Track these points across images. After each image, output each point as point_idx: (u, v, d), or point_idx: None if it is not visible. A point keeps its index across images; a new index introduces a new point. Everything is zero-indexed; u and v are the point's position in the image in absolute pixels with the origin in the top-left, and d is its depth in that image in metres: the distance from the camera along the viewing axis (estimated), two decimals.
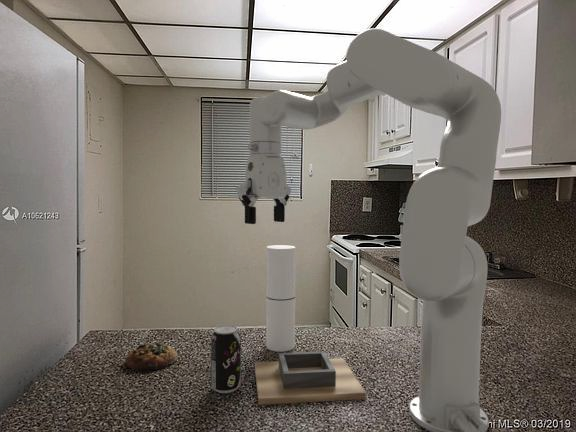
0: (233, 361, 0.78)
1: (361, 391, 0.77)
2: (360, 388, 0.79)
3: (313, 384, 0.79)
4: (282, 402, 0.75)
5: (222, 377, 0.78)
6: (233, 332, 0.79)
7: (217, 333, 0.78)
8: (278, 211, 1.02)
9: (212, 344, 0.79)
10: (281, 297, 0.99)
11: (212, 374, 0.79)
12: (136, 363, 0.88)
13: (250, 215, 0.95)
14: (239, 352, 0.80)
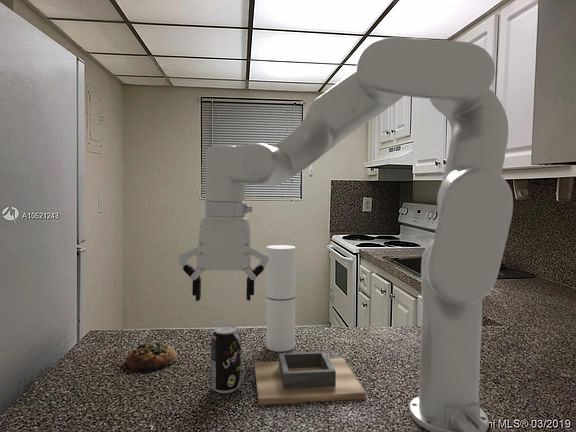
0: (233, 361, 0.78)
1: (361, 391, 0.77)
2: (360, 388, 0.79)
3: (313, 384, 0.79)
4: (282, 402, 0.75)
5: (222, 377, 0.78)
6: (233, 332, 0.79)
7: (217, 333, 0.78)
8: (200, 285, 0.79)
9: (212, 344, 0.79)
10: (281, 297, 0.99)
11: (212, 374, 0.79)
12: (136, 362, 0.89)
13: None
14: (239, 352, 0.80)
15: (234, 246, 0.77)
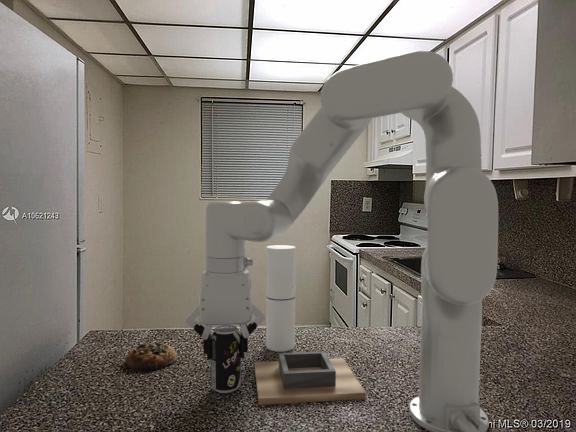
0: (233, 361, 0.78)
1: (361, 391, 0.77)
2: (360, 388, 0.79)
3: (313, 384, 0.79)
4: (282, 402, 0.75)
5: (222, 377, 0.78)
6: (233, 332, 0.79)
7: (217, 333, 0.78)
8: None
9: (212, 344, 0.79)
10: (281, 297, 0.99)
11: (212, 374, 0.79)
12: (136, 362, 0.89)
13: None
14: (239, 352, 0.80)
15: (235, 301, 0.78)
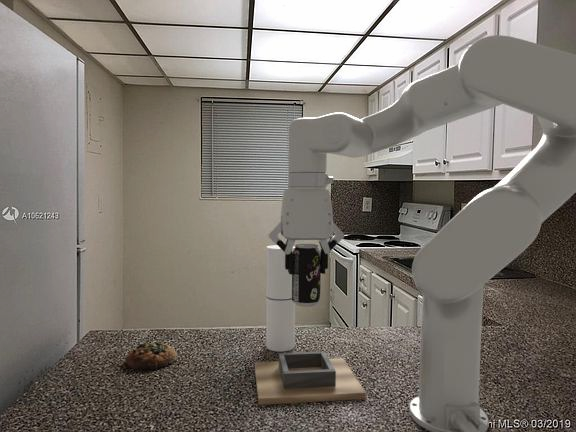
0: (316, 275, 0.80)
1: (361, 391, 0.77)
2: (360, 388, 0.79)
3: (313, 384, 0.79)
4: (282, 402, 0.75)
5: (305, 290, 0.80)
6: (315, 247, 0.81)
7: (300, 247, 0.80)
8: None
9: (294, 258, 0.81)
10: (281, 297, 0.99)
11: (294, 288, 0.81)
12: (136, 362, 0.89)
13: None
14: (320, 267, 0.82)
15: (318, 216, 0.80)
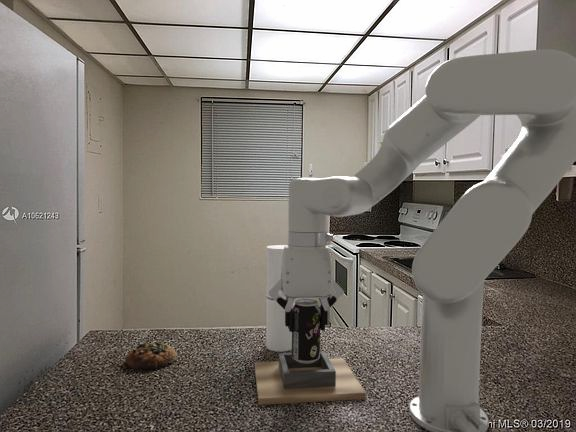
0: (315, 333, 0.81)
1: (361, 391, 0.77)
2: (360, 388, 0.79)
3: (313, 384, 0.79)
4: (282, 402, 0.75)
5: (305, 348, 0.81)
6: (315, 304, 0.81)
7: (300, 305, 0.81)
8: None
9: (294, 316, 0.81)
10: None
11: (294, 345, 0.82)
12: (136, 362, 0.89)
13: None
14: None
15: (318, 274, 0.80)
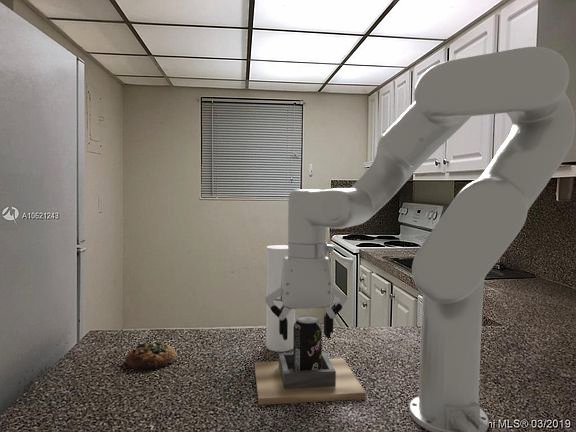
0: (317, 350, 0.81)
1: (361, 391, 0.77)
2: (360, 388, 0.79)
3: (313, 384, 0.79)
4: (282, 402, 0.75)
5: (306, 365, 0.81)
6: (316, 321, 0.82)
7: (301, 322, 0.81)
8: None
9: (296, 333, 0.82)
10: None
11: (295, 362, 0.82)
12: (136, 361, 0.89)
13: None
14: (321, 341, 0.83)
15: (318, 285, 0.80)
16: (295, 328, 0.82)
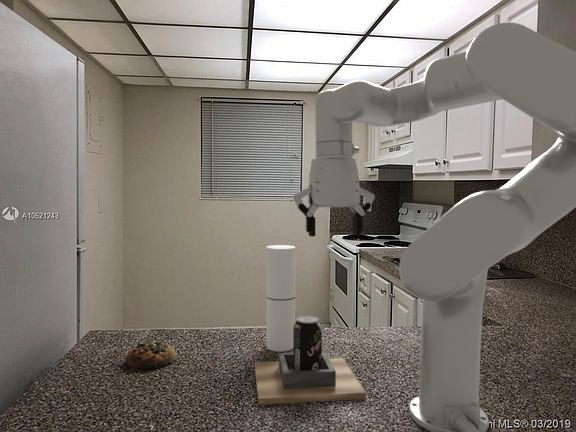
0: (317, 350, 0.81)
1: (361, 391, 0.77)
2: (360, 388, 0.79)
3: (313, 384, 0.79)
4: (282, 402, 0.75)
5: (306, 365, 0.81)
6: (316, 321, 0.82)
7: (301, 322, 0.81)
8: None
9: (296, 333, 0.82)
10: (281, 297, 0.99)
11: (295, 362, 0.82)
12: (136, 361, 0.89)
13: None
14: (321, 341, 0.83)
15: (346, 183, 0.83)
16: (295, 328, 0.82)
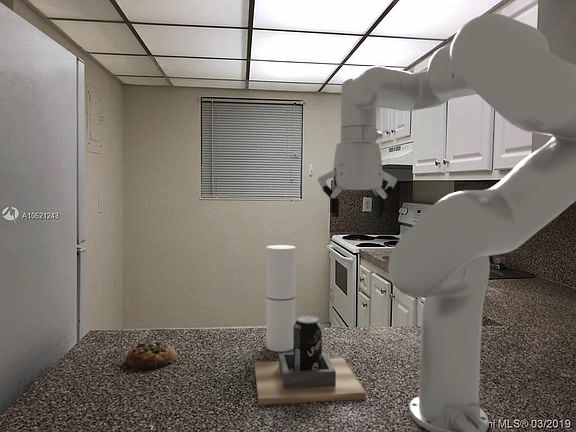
0: (317, 350, 0.81)
1: (361, 391, 0.77)
2: (360, 388, 0.79)
3: (313, 384, 0.79)
4: (282, 402, 0.75)
5: (306, 365, 0.81)
6: (316, 321, 0.82)
7: (301, 322, 0.81)
8: None
9: (296, 333, 0.82)
10: (281, 297, 0.99)
11: (295, 362, 0.82)
12: (136, 361, 0.89)
13: None
14: (321, 341, 0.83)
15: (370, 167, 0.87)
16: (295, 328, 0.82)
